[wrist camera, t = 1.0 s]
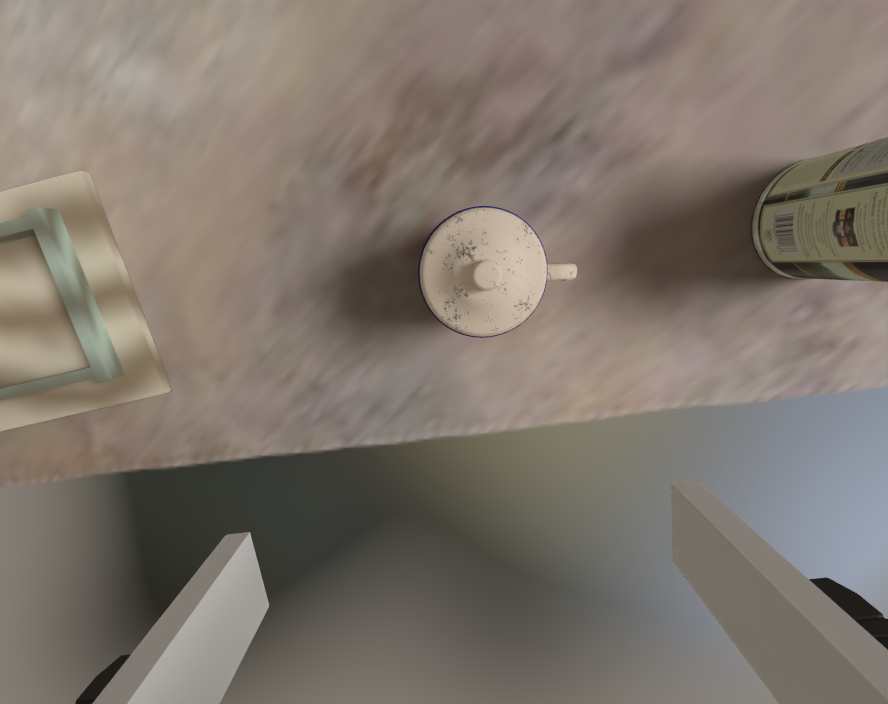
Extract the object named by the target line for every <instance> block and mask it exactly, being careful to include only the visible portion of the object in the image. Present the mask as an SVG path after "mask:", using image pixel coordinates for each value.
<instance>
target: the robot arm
mask: <svg viewBox="0 0 888 704" xmlns="http://www.w3.org/2000/svg"><path fill="white" fill-rule="evenodd" d="M671 502H672V547H673V548H672V549H673V550H672V551H673V562H674V563H675V565H676V566H677V567H678V569H679V570H680V571H681V573H682V574H683V575H684V577H685V578H686V579H687V580H688V582H689V583H690V585H691V586H692V587H693V589H694V590H695V591H696V593H697V594H698V595H699V597H700V598H701V600H702V601H703V602H704V603H705V604H706V606H707V608H708V609H709V610H710V612H711V613H712V614H713V615H714V617H715V618H716V620H717V621H718V622H719V624H720V625H721V626H722V628H723V629H724V630H725V632H726V633H727V634H728V636H729V637H730V638H731V640H732V641H733V642H734V644H735V645H736V646H737V648H738V649H739V651H740V652H741V653H742V655H743V656H744V657H745V658H746V660H747V661H748V663H749V664H750V665H751V667H752V668H753V669H754V670H755V672H756V673H757V675H758V676H759V677H760V679H761V680H762V681H763V683H764V684H765V685H766V687H767V688H768V689H769V691H770V692H771V694H772V695H773V696H774V698H775V699H776V700H777V702H778V703H779V704H888V619H885V618H884V617H883V614H881V613H880V612H879V611H878V610H877V609H875V608H874V607H873V606H872V605H870V604H869V603H868V602H867V601H866V600H864V599H863V598H862V597H861V596H860V595H858V594H857V593H855V592H853V591H851V590H849V589H848V588H846V587H844V586H842V585H840V584H838V583H836V582H835V581H833V580H831V579H829V578H818V579H808V578H806V577H805V576H804V575H803V574H802V573H801V572H800V571H799V570H798V569H796V568H795V567H794V566H793V565H792V564H791V563H790V562H789V561H787V560H786V559H785V558H784V557H783V556H782V555H780V553H778V552H777V551H776V550H775V549H774V548H773V547H772V546H770V545H769V544H768V543H767V542H766V541H765V540H764V539H763V538H762V537H760V536H759V535H758V534H757V533H756V532H755V531H754V530H753V529H751V528H750V527H749V526H748V525H747V524H746V523H745V522H744V521H742V520H741V519H740V518H739V517H738V516H737V515H736V514H735V513H733V512H732V511H731V510H730V509H729V508H728V507H727V506H726V505H724V504H723V503H722V502H721V501H720V500H719V499H718V498H717V497H716V496H714V495H713V494H712V493H711V492H710V491H709V490H708V489H706V488H705V487H704V486H703V485H702V484H701V483H700V482H699V481H698V480H689V481H682V482H672V483H671ZM268 607H269V603H268V599H267V596H266V592H265V588H264V584H263V581H262V577H261V573H260V569H259V565H258V562H257V558H256V554H255V550H254V546H253V543H252V539H251V535H250V532H247V533H238V534H229V535H226V536H225V537H224V538H223V539H222V541H221V542H220V543H219V544H218V546H217V547H216V548H215V550H214V551H213V552H212V553H211V555H210V556H209V557H208V559H207V560H206V561H205V562H204V563H203V565H202V566H201V567H200V568H199V570H198V571H197V572H196V574H195V575H194V576H193V577H192V579H191V580H190V581H189V582H188V584H187V585H186V586H185V587H184V589H183V590H182V591H181V592H180V594H179V595H178V596H177V598H176V599H175V600H174V601H173V602H172V604H171V605H170V606H169V608H168V609H167V610H166V611H165V613H164V614H163V615H162V616H161V618H160V619H159V620H158V621H157V623H156V624H155V625H154V626H153V628H152V629H151V631H149V633H148V634H147V635H146V637H145V638H144V639H143V641H142V642H141V643H140V644H139V645H138V647H137V648H136V649H135V650H134V652H133V653H132V654H131V655H122V656H120V657H119V658H118V659H117V660H115V661H114V662H113V663H112V664H111V665H110V666H108V667H107V668H106V669H105V670H104V671H102V672H101V673H100V674H99V675H98V676H96V677H95V679H94V680H93V681H92V682H91V683H90V685H89V686H88V687H87V688H86V689H85V691H84V692H83V693H82V694H81V695H80V697H79V698H78V699H77V700H76V704H219V703H220V702H221V700H222V698H223V696H224V694H225V692H226V690H227V688H228V686H229V684H230V682H231V680H232V678H233V676H234V674H235V672H236V670H237V668H238V666H239V664H240V662H241V660H242V658H243V656H244V654H245V652H246V650H247V648H248V646H249V644H250V642H251V640H252V639H253V636H254V635H255V633H256V631H257V629H258V627H259V625H260V623H261V621H262V619H263V617H264V615H265V613H266V611H267V609H268Z"/></svg>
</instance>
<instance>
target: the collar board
mask: <svg viewBox="0 0 888 704" xmlns="http://www.w3.org/2000/svg"><path fill="white" fill-rule="evenodd" d="M171 390H172V389H171V386H170V384H169V381H168V378H167V376H166V373H165V370H164V368H163V365H162V363H161V360H160V357H159V355H158V352H157V349H156V347H155V344H154V342H153V339H152V336H151V334H150V331H149V328H148V326H147V323H146V321H145V318H144V315H143V313H142V310H141V307H140V305H139V302H138V300H137V297H136V294H135V292H134V289H133V287H132V284H131V281H130V279H129V276H128V273H127V271H126V268H125V266H124V263H123V260H122V258H121V255H120V252H119V250H118V247H117V245H116V242H115V239H114V237H113V234H112V231H111V229H110V226H109V224H108V221H107V218H106V216H105V213H104V210H103V208H102V205H101V203H100V200H99V197H98V195H97V192H96V190H95V187H94V184H93V182H92V179H91V176H90V174H89V173H86V172H82V171H77V172H73V173H69V174H66V175H62V176H58V177H54V178H50V179H47V180H43V181H39V182H35V183H31V184H28V185H24V186H20V187H16V188H12V189H9V190H5V191H1V192H0V431H4V430H8V429H13V428H17V427H21V426H26V425H30V424H34V423H39V422H43V421H47V420H52V419H56V418H60V417H65V416H69V415H73V414H78V413H82V412H86V411H91V410H95V409H99V408H104V407H108V406H112V405H117V404H121V403H125V402H130V401H134V400H138V399H143V398H147V397H151V396H156V395H160V394H164V393H167V392H169V391H171Z"/></svg>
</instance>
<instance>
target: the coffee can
mask: <svg viewBox="0 0 888 704" xmlns="http://www.w3.org/2000/svg"><path fill="white" fill-rule="evenodd" d="M752 233H753V240H754V244H755V247H756V250H757V252H758V254H759V256H760V257H761V259H762V261H763V262H764V263H765V264H766V265H767V266H768V267H769V268H770V269H772V270H773V271H775V272H776V273H778V274H780V275H783V276H785V277H789V278H794V279H836V280H859V281H886V282H888V137H887V138H883V139H879V140H876V141H873V142H870V143H866V144H863V145H859V146H855V147H852V148H848V149H845V150H842V151H838V152H834V153H831V154H828V155H824V156H821V157H816V158H811V159H806V160H803V161H801V162H798V163H796V164H794V165H792V166H790V167H788V168H787V169H785V170H784V171H783V172H781V173H780V174H779V175H777V176H776V177H775V178H774V179H773V181H772V182H771V183H770V184H769V185H768V186H767V188H766V189H765V190H764V192H763V193H762V195H761V197H760V199H759V201H758V203H757V206H756V209H755V212H754V216H753V227H752Z"/></svg>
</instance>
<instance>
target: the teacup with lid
mask: <svg viewBox="0 0 888 704" xmlns="http://www.w3.org/2000/svg"><path fill="white" fill-rule="evenodd" d="M576 276H577V267H576V265H575V264H572V263H548V264H547V259H546V254H545V251H544V248H543V245H542V243H541V241H540V239H539V237H538V236H537V234H536V233H535V231H534V230H533V229H532V228H531V226H530V225H529V224H528V223H526V222H525V221H524V220H523V219H522V218H520V217H519V216H517V215H515V214H514V213H512V212H510V211H507V210H504V209H501V208H497V207H491V206H478V207H471V208H467V209H464V210H461V211H458V212H456V213H454V214H452V215H451V216H449V217H448V218H446V219H445V220H444V221H442V222H441V223H440V224H439V225H438V226H437V227H436V228H435V229H434V230H433V232H432V233H431V234H430V236H429V237H428V239H427V241H426V243H425V245H424V247H423V250H422V253H421V256H420V260H419V267H418V278H419V286H420V290H421V294H422V296H423V299H424V301H425V303H426V305H427V307H428V308H429V310H430V311H431V313H432V314H433V315H434V316H435V317H436V318H437V319H438V320H439V321H440V322H441V323H442V324H443V325H445V326H446V327H448V328H449V329H451V330H453V331H455V332H457V333H460V334H463V335H466V336H470V337H481V338H483V337H493V336H498V335H501V334H504V333H507V332H509V331H511V330H513V329H515V328H516V327H518V326H519V325H521V324H522V323H523V322H524V321H525V320H527V319H528V318H529V316H530V315H531V314H532V313H533V312H534V310H535V309H536V308H537V306H538V304H539V303H540V301H541V299H542V296H543V294H544V291H545V287H546V282H547V281H568V280H573V279H575V278H576Z"/></svg>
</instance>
